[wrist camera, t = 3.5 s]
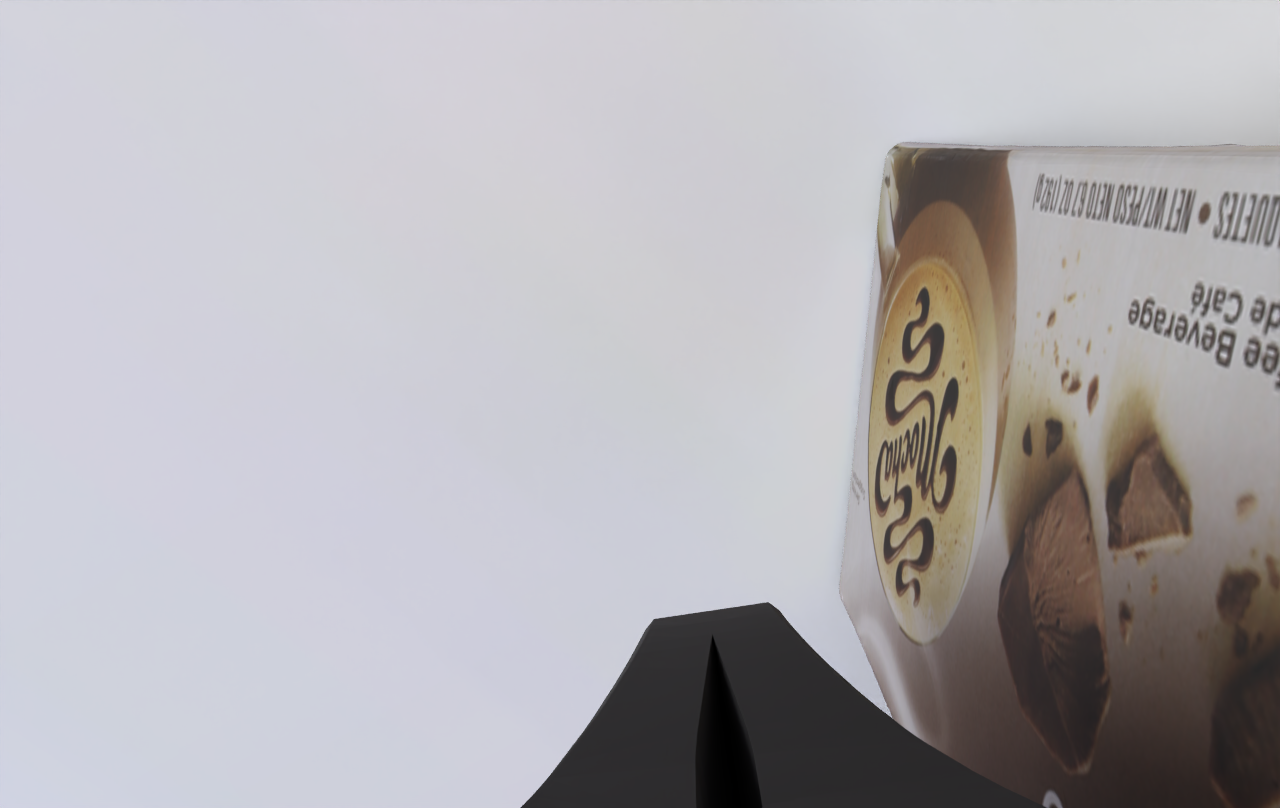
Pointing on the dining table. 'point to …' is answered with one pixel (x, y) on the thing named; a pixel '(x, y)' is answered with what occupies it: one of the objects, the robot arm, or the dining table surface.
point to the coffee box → (1076, 469)
